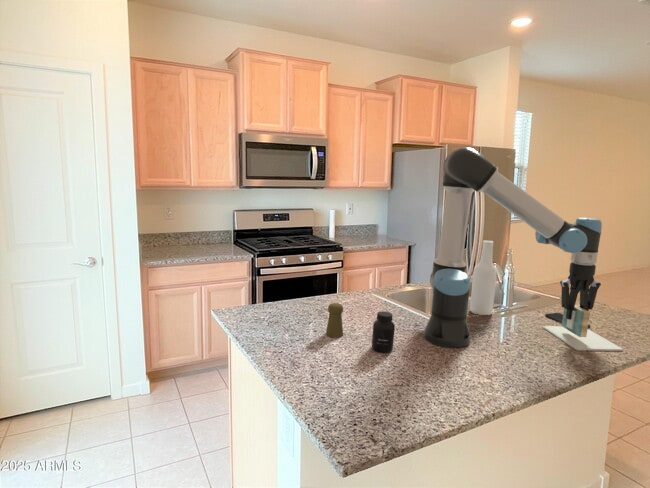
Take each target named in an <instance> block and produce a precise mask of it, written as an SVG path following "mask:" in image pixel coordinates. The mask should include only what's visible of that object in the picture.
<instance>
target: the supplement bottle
mask: <svg viewBox="0 0 650 488" xmlns="http://www.w3.org/2000/svg"><path fill="white" fill-rule="evenodd" d="M395 329H396V325H395V322H393V313H391V312H389V311H385V310H383V311H378V312H377V313H376V320H374V321H373V324H372V335H371V337H372V338H371V349H372V350H373V351H374V352H375V353H379V354H390V353H392V352H393V350H394V342H395V339H394V338H395Z"/></svg>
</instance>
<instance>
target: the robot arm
mask: <svg viewBox="0 0 650 488" xmlns="http://www.w3.org/2000/svg"><path fill="white" fill-rule="evenodd" d="M442 180H443V181H442V188H443V189H444V190H445V202H444V208H443V216H442V225H441V231H440V232H441V233H440V242H439V249H438V255H437V257H436V258H435V259H434V260H433V264H432V271H431V273H430V276H429V277H430V278H429V282H430V283H429V284H430V286H431V290H432V291H431V292H432V301H431V314H430V317H429V318H428V321H427V323H426V326H425V327H424V335H423V336H424V337H423V338H424V339H425V340H426V341H427V342H429V343H431V344H433V345H436V346H440V347H443V348H444V347H445V348H452V349H454V348H464V347H467V346H469V345H470V344H471V343H470V342H471V333H470V329H469V325H468V321H467V317H468V309H469V299H470V298H469V297H470V289H471V286H472V285H471V277H470V275H469V274H468V273H466V272H467V263H466V262H465V260H464V259H463V258H464V253H465V245H466V237H467V231H468V223H469V215H470V207H471V199H472V194H473V193H474V192H475V191H476V193H481V192H482V193H483V194H484V195H486V196H488V197H489V198H490V199H492V200H493V201H494V202H496V203H497V204H498V205H500V206H501V207H502V208H505V210H507V211H508V212H510V213H511V214H513V215H514V216H515V217H516V218H518V219H520V221H522V222H523V223H525V224H526V225H528V226H529V227H530V228H532V229H533V230H534V231H535V233H534V234H535V239H536V240H535V241H536V242H537V243H539V244H542V245H543V244H544V245H552V246H554V247H557V248H559V249H560V250H563V252H565V253H570V254H571V256H570V261H571V262H570V264H569V271H568V272H569V276H568V277H567V279H565V280H560V281H559V284H560V286H561V300H560V301H561V304H560V305H561V307H562V308H563V309H564V308H565V309H567V311H566V318H567V325H566V327H568V328H570V329H573V327H574V320H575V313H576V312H575V311H573V310H574V307H575V305H576V303H577V300H578V295H579V307H581V308H583V309H585V310H587V311H589V312H590V311H591V310H593V308H594V305H595V301H596V297H597V293H598V290H599V289H600V287H601V282H598V281H596V280H595V279H594V276H595V274H596V270H597V266H596V264H597V261H598V255H599V254H598V253H599V247H600V242H601V237H602V236H601V235H602V229H603V228H602V225H603V224H602V220H601V219H598V218H594V217H577V218H576V220H575V222H572V223H571V222H568V221H566V220H565V219H564V218H562V217H561V216H559V215H558V214H556V213H555V212H554V211H552V210H551V209H549V208H548V207H547V206H546V205H544V204H543V203H541V202H540V201H539V200H537V199H536V198H535V197H533V196H532V195H530V194H529V193H528V192H526V191H525V190H523V189H522V188H521V187H520V186H518V185H517V184H515V182H513V181H511V180H510V179H508V178H507V177H505V176H504V175H503V174H501V172H500V171H499V167H498V166H496V164H494V163H492V162H491V161H490V160H488V158H487V157H486V156H484V155H483V154H482V153H481V152H479V151H478V150H476V149H475V148H473V147H469V146H468V147H466V146H464V147H461V148H460V147H459V148H457V149H455V150H453V151H451V152H450V153H449V154H448V155H447V156H446V158H445V160H444V163H443V179H442Z"/></svg>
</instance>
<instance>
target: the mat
mask: <svg viewBox="0 0 650 488" xmlns="http://www.w3.org/2000/svg"><path fill="white" fill-rule="evenodd" d="M542 328H543V329H544V330H545V331H547V332H548V333H550V334H551V335H553V336H555V338H557V339H559V340H560V341H562V342H563V343H565V344H566V345H568V346H569V347H571V348H572V349H574V350H575V351H586V352H587V350H588V351H589V352H590V351H595V352H597V351H598V352H599V351H601V352H603V351H604V352H607V351H608V352H611V351H612V352H623V351H624V348H622V347H621V346H618V345H617V344H615V343H613V342H611V341H610V340H608V339H606V338H604V337H602V336H601V335H599V334H597V333H596V332H595V331H592V330H590V328H588V329H587V336H586V337H578V336H577V335H575V334H574V333H572V332H570V331H569V330H567V329H565V328H564V327H562V325H561V326H559V325H556V326H555V325H554V326H553V325H551V326H550V325H543V326H542Z"/></svg>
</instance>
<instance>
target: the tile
mask: <svg viewBox="0 0 650 488" xmlns="http://www.w3.org/2000/svg"><path fill="white" fill-rule="evenodd" d="M566 311H567V309H565V308H563V312H562V314H563V320H562V323H561V326H562V327H564V328H565V329H567V330H569V331H570V332H572V333H574V334H575V335H577V336H578V337H586V336H587V329H589V328H588V324H590V323H589V321H590V315H591V311H590V310H589V311H587V310H585V309H583V308H581V307H580V305H577V304H575V307H574V310H573V311H575V312H576V313H575V320H574V327H573V329H570V328H568V327H566V325H567V318H566Z"/></svg>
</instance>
